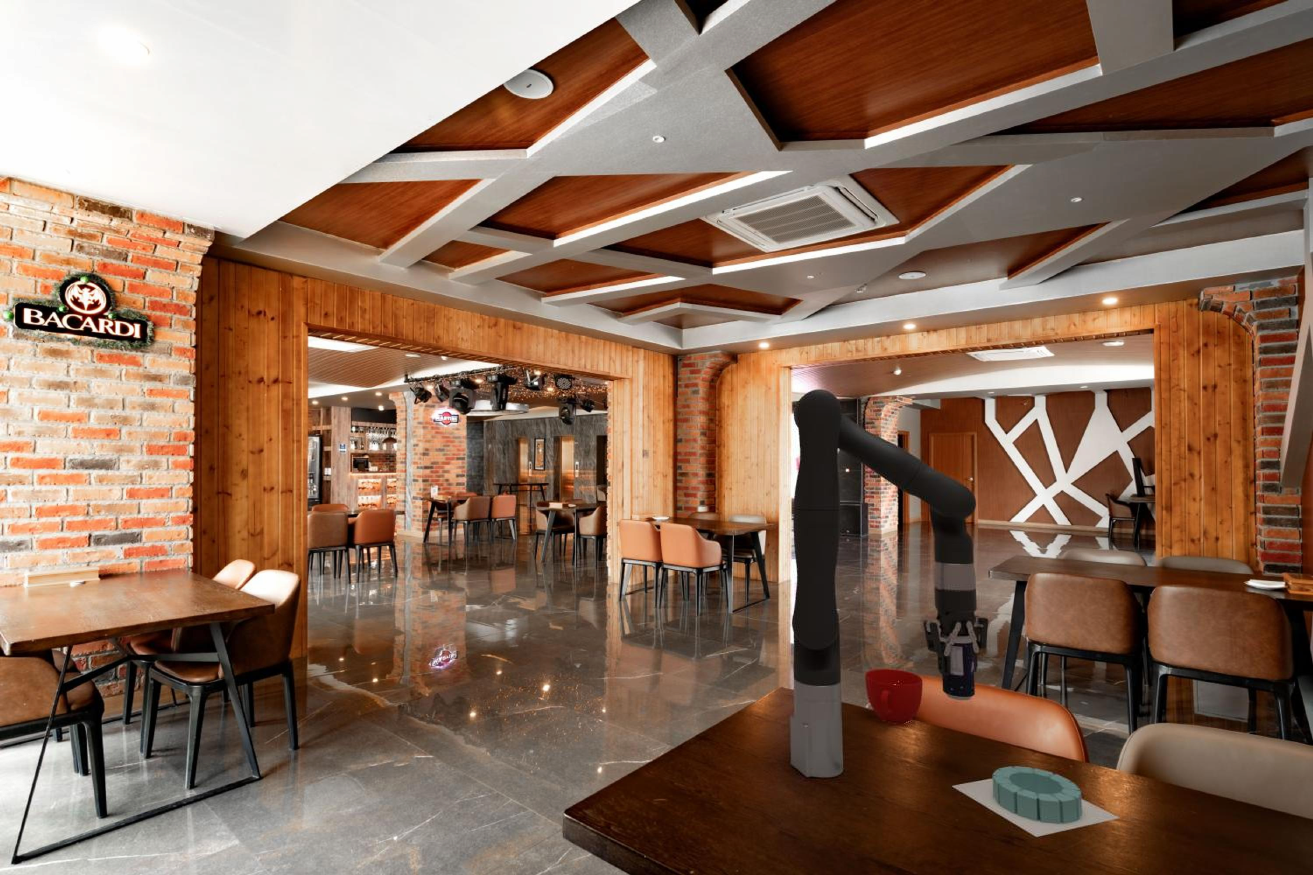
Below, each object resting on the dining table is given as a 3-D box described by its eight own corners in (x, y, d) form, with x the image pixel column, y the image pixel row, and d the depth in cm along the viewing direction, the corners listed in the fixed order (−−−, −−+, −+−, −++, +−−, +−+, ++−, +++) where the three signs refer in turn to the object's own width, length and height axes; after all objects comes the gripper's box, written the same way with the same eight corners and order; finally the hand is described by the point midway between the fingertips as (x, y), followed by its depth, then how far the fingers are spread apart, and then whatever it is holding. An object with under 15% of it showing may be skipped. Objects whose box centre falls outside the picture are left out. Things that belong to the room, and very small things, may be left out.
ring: (1040, 828, 104) (1039, 806, 104) (977, 792, 117) (976, 772, 117) (1099, 815, 108) (1098, 794, 108) (1033, 781, 121) (1032, 762, 121)
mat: (1036, 841, 102) (1036, 836, 102) (951, 790, 119) (951, 785, 119) (1120, 822, 107) (1119, 817, 108) (1027, 776, 125) (1027, 771, 125)
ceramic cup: (855, 728, 149) (854, 683, 150) (873, 706, 164) (872, 666, 164) (915, 739, 143) (913, 693, 143) (928, 715, 157) (926, 673, 158)
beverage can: (978, 702, 123) (976, 637, 123) (946, 700, 124) (944, 636, 125) (970, 692, 128) (968, 631, 129) (939, 691, 129) (937, 630, 130)
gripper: (969, 580, 133) (972, 664, 132) (911, 584, 129) (914, 671, 128) (999, 586, 126) (1002, 674, 125) (939, 590, 122) (942, 682, 120)
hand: (957, 672), depth 126 cm, fingers closed on beverage can, 5 cm apart
